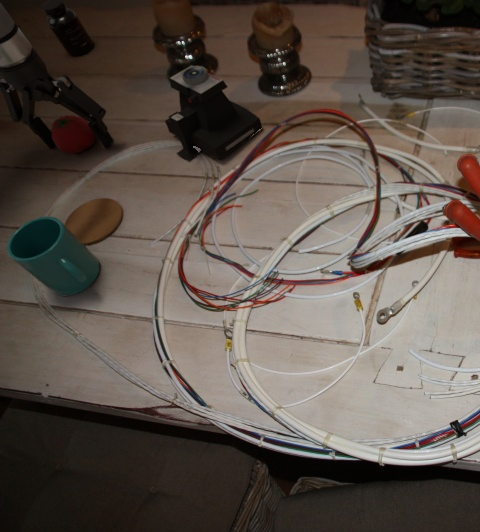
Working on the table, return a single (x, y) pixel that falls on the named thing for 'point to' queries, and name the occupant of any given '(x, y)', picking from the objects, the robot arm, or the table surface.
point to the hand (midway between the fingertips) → (81, 144)
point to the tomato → (72, 134)
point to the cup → (53, 256)
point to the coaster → (95, 220)
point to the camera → (208, 115)
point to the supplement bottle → (67, 28)
